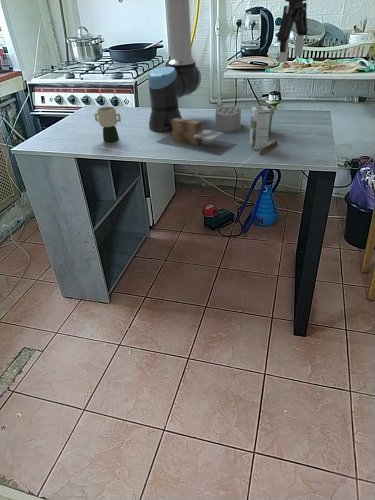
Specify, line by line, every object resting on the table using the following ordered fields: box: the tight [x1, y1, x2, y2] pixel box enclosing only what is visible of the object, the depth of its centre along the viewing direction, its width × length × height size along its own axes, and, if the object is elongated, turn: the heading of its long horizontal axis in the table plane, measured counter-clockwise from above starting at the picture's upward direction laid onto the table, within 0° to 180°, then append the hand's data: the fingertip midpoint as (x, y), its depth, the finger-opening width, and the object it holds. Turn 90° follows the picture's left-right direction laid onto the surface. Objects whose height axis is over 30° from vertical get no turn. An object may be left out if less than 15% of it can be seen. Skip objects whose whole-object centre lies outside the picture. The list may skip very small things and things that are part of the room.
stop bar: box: [259, 140, 279, 156], centre depth 140 cm, size 1×12×2 cm, turn 144°
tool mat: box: [155, 133, 238, 156], centre depth 149 cm, size 30×13×1 cm, turn 55°
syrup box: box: [248, 105, 270, 151], centre depth 139 cm, size 6×6×14 cm
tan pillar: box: [171, 118, 224, 145], centre depth 147 cm, size 20×8×8 cm, turn 55°
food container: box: [259, 103, 275, 136], centre depth 153 cm, size 12×6×10 cm, turn 168°
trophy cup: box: [93, 105, 122, 143], centre depth 153 cm, size 11×7×13 cm, turn 77°
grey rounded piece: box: [215, 104, 242, 133], centre depth 161 cm, size 10×13×9 cm
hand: (290, 59), depth 136 cm, fingers open, 13 cm apart
